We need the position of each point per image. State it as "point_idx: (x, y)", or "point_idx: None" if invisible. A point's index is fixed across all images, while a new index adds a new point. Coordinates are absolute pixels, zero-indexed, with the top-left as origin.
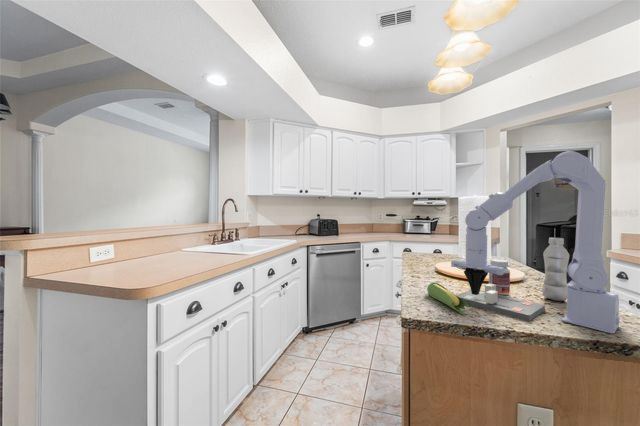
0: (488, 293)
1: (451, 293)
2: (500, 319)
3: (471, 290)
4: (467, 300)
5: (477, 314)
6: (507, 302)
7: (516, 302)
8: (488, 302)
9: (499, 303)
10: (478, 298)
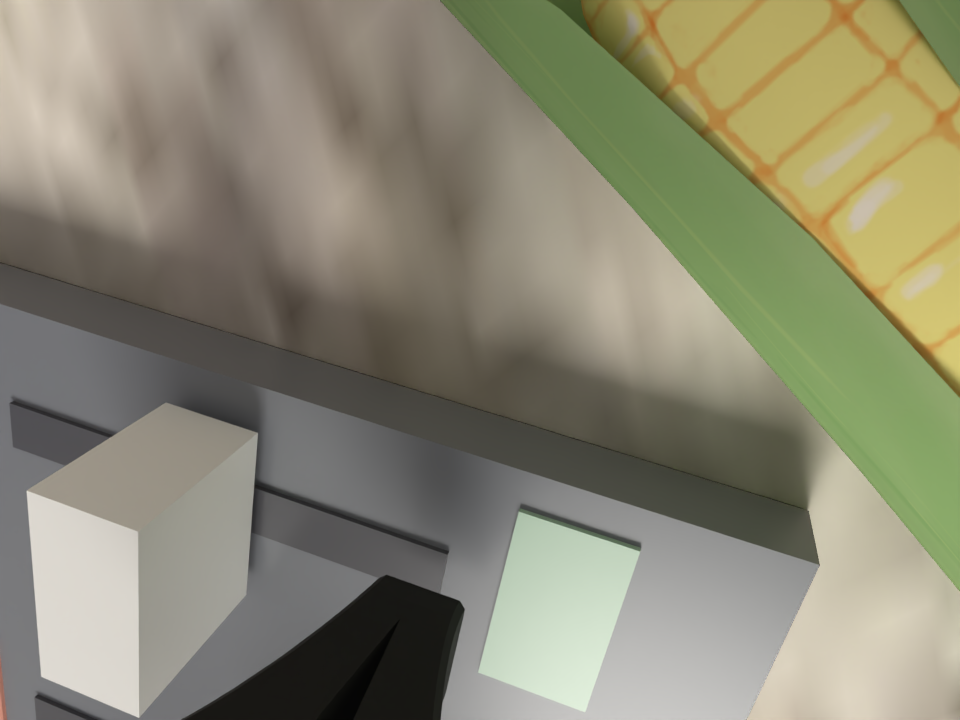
0: (101, 507)
1: (829, 153)
2: (34, 24)
3: (440, 638)
4: (547, 469)
5: (309, 4)
6: None
7: None
8: (210, 424)
9: None
10: None
